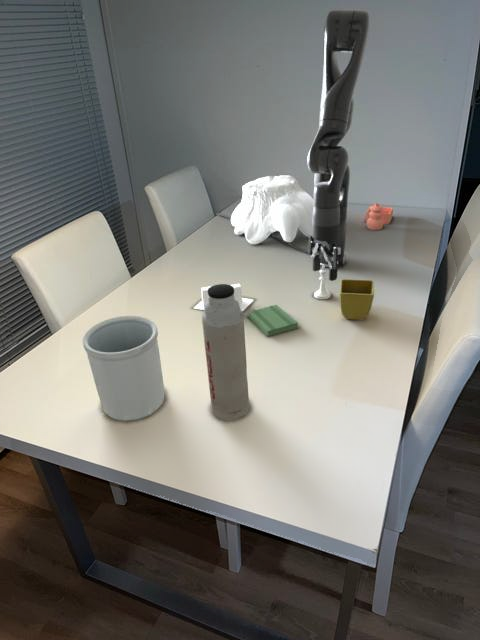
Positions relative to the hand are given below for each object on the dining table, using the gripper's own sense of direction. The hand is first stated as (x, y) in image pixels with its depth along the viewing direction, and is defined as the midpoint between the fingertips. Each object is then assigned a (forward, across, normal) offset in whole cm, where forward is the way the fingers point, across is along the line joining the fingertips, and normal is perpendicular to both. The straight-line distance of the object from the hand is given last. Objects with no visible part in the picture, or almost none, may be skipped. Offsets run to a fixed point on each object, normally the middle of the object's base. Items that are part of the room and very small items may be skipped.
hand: (324, 275), depth 143 cm
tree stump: (+6, +61, -17) cm, 64 cm away
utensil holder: (+8, -21, +64) cm, 67 cm away
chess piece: (+7, +1, 0) cm, 7 cm away
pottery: (+6, +45, -56) cm, 72 cm away
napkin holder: (+7, +11, +28) cm, 31 cm away
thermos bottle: (+8, -34, +46) cm, 57 cm away
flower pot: (+7, -14, -1) cm, 16 cm away
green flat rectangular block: (+7, -6, +21) cm, 23 cm away
